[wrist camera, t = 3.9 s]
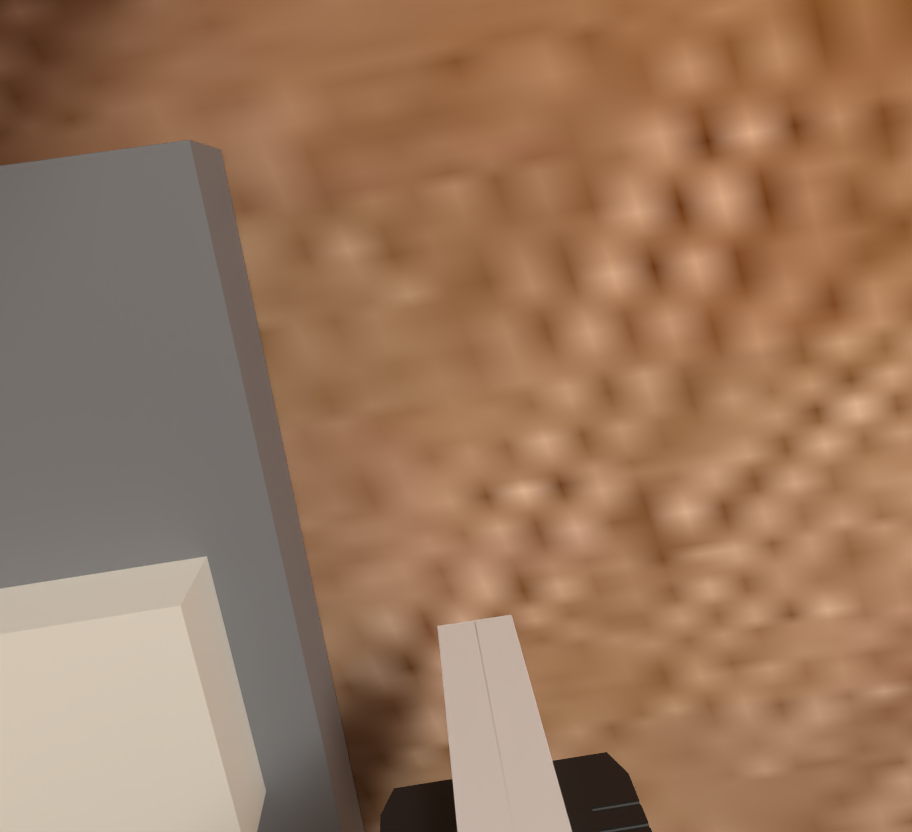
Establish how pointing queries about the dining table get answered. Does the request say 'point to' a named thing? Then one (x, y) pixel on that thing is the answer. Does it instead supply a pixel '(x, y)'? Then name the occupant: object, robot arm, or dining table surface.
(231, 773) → the cream flat block
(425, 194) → the dining table surface
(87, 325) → the plate
